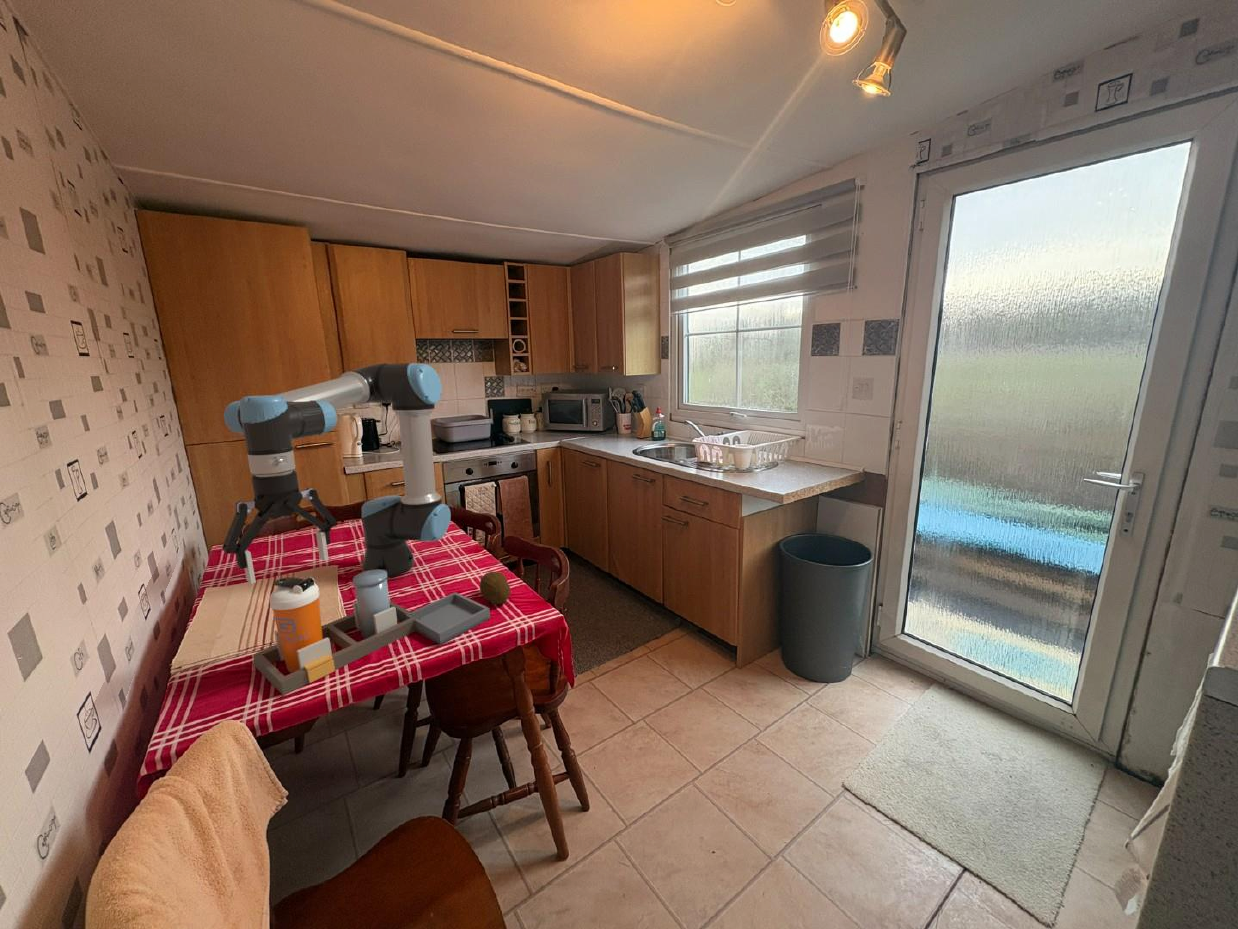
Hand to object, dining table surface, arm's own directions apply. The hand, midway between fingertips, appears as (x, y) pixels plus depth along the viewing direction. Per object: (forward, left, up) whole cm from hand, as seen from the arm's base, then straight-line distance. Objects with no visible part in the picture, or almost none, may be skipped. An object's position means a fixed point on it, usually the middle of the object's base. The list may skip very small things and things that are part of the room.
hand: (289, 570), depth 102 cm
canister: (0, +16, -23) cm, 28 cm away
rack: (0, +8, -23) cm, 24 cm away
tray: (+11, +29, -23) cm, 39 cm away
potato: (+11, +44, -23) cm, 51 cm away
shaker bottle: (0, 0, -23) cm, 23 cm away
